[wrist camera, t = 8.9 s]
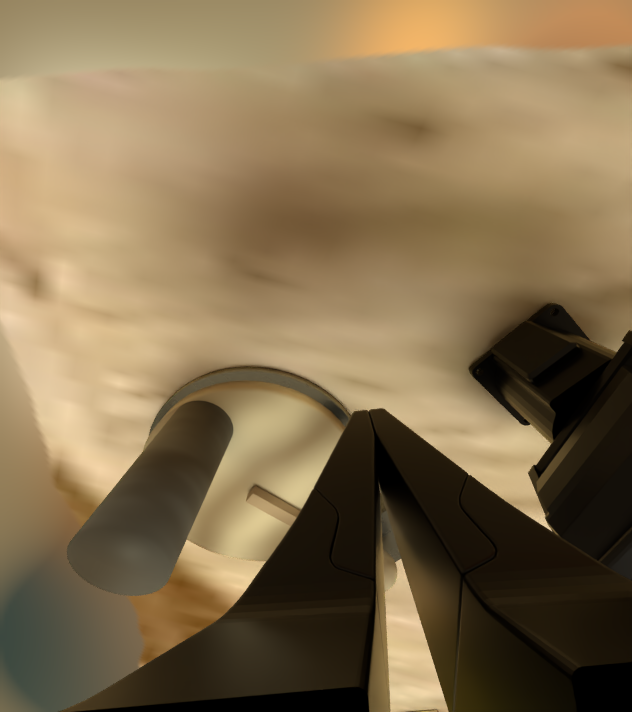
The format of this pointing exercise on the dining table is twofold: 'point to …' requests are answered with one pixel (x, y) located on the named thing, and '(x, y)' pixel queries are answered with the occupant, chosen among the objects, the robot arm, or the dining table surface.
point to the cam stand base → (290, 382)
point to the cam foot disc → (210, 486)
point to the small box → (428, 711)
